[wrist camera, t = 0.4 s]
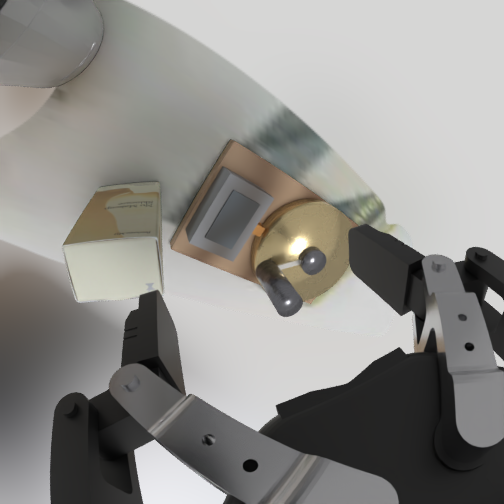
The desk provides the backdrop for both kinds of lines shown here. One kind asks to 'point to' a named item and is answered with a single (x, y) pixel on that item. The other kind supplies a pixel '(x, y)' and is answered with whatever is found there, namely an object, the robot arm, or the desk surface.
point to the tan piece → (235, 210)
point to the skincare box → (117, 244)
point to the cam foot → (301, 253)
